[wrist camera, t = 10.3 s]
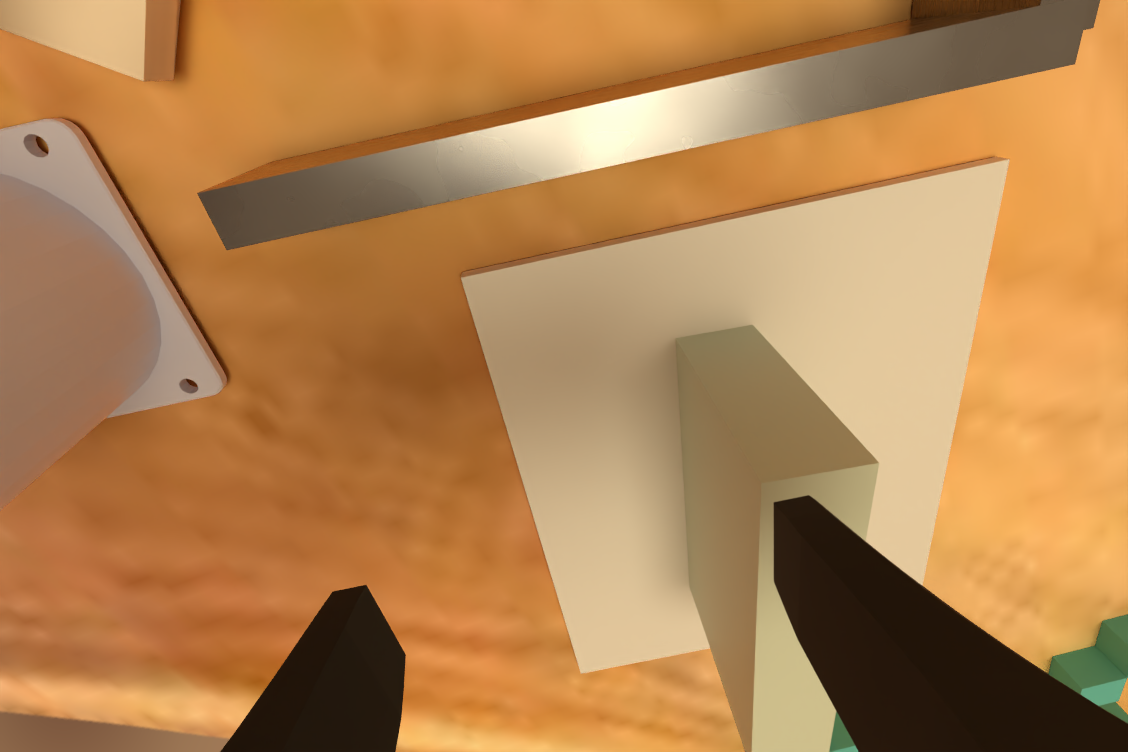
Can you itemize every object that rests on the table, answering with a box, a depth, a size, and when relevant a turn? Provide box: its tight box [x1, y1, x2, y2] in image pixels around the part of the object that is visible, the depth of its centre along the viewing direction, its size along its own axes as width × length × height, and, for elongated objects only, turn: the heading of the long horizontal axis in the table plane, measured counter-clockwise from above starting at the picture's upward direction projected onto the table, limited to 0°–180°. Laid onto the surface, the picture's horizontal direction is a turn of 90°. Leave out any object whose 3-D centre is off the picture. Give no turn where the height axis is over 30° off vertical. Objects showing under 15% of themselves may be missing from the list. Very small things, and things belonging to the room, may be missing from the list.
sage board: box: [675, 325, 879, 752], centre depth 18 cm, size 2×12×7 cm, turn 9°
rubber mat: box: [461, 157, 1010, 674], centre depth 21 cm, size 16×20×1 cm
